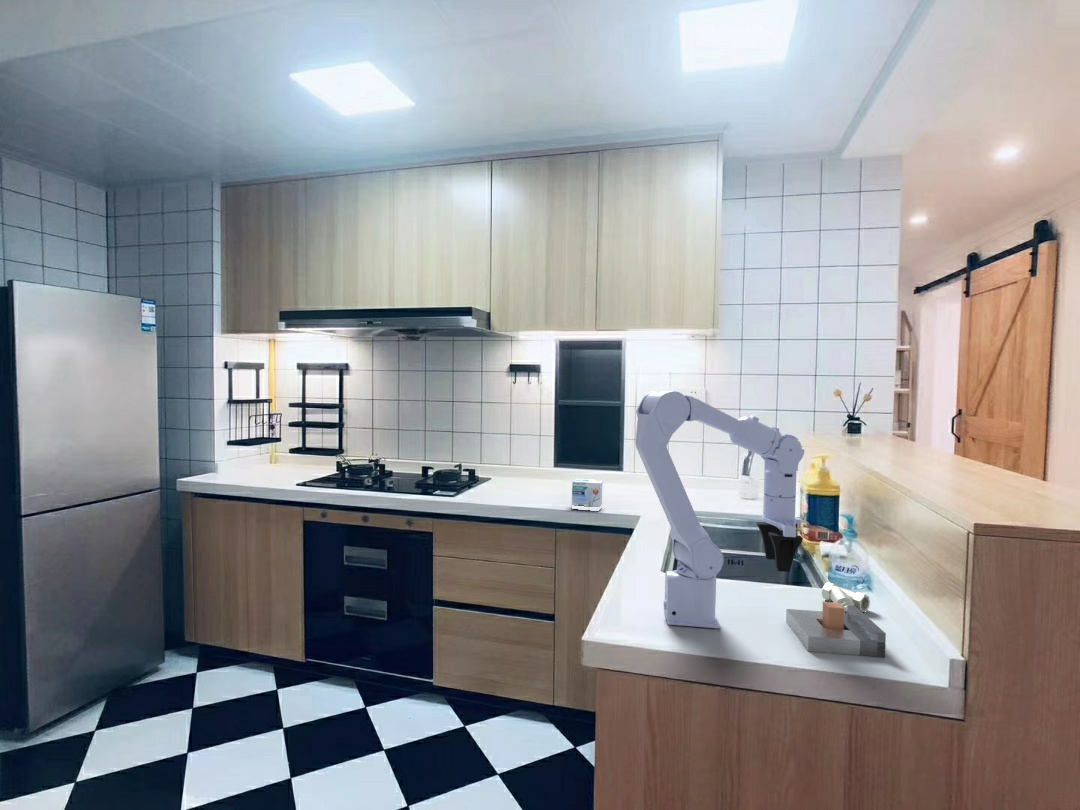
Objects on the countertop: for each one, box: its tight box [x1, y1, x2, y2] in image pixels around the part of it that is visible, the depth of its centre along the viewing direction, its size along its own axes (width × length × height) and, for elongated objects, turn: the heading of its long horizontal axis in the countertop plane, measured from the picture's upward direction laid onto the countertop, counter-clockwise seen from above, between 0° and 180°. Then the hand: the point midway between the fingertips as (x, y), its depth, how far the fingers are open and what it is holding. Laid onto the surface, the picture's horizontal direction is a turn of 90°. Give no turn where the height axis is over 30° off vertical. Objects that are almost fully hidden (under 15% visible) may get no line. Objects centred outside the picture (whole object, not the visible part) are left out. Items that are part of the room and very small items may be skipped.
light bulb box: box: [571, 478, 603, 507], centre depth 203 cm, size 11×7×11 cm, turn 77°
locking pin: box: [822, 601, 844, 630], centre depth 97 cm, size 3×3×6 cm
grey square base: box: [785, 605, 887, 658], centre depth 97 cm, size 12×12×4 cm
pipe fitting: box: [821, 581, 871, 613], centre depth 112 cm, size 8×4×7 cm
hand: (777, 564), depth 107 cm, fingers open, 7 cm apart
